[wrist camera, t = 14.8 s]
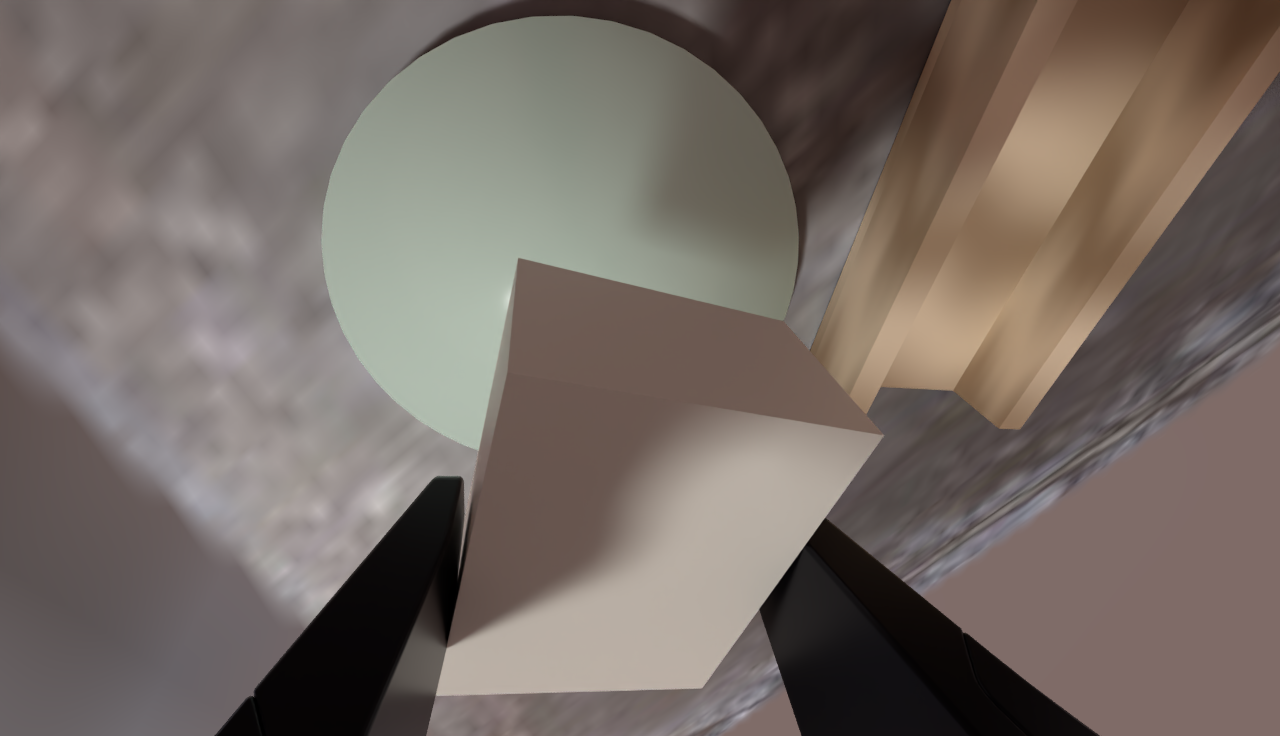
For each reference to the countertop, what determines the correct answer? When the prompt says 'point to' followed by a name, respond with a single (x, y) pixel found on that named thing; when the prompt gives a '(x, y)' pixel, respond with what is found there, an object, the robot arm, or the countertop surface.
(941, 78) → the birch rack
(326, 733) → the robot arm
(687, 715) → the countertop surface
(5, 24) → the countertop surface
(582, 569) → the cream block
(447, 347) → the green plate
